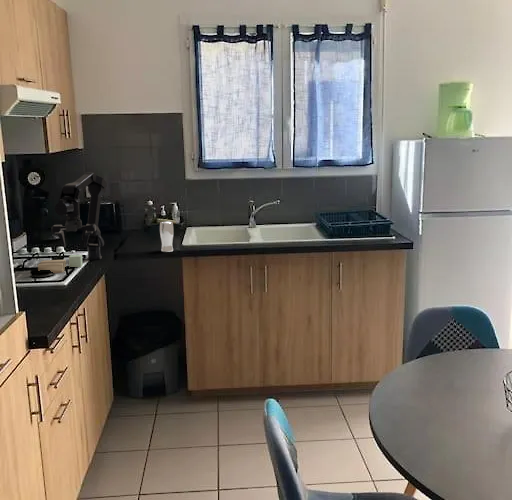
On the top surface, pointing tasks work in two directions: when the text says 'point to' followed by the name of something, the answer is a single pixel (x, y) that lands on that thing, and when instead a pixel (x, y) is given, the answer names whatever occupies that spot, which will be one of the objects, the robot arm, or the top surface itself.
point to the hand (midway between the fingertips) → (75, 247)
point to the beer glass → (166, 236)
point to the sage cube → (75, 261)
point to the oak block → (52, 265)
